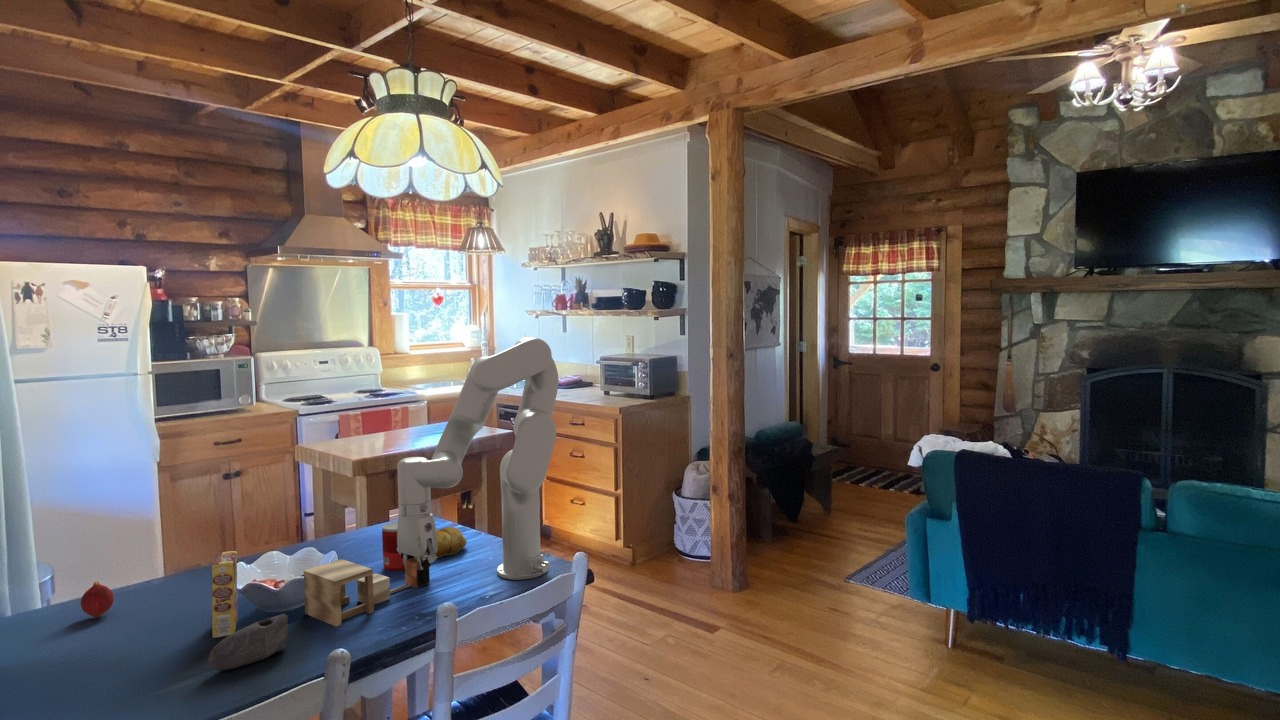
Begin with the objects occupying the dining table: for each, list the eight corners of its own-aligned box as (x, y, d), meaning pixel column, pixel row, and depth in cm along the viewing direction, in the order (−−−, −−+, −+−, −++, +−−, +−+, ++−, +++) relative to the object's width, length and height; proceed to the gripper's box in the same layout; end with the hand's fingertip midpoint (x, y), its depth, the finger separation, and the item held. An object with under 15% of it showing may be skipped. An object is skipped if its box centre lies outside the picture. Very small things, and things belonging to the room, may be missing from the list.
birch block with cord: (430, 583, 173) (429, 559, 172) (370, 605, 159) (370, 579, 159) (417, 579, 175) (416, 555, 175) (357, 601, 162) (357, 575, 162)
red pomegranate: (120, 614, 156) (118, 579, 156) (91, 624, 151) (89, 588, 150) (105, 610, 158) (103, 575, 158) (75, 620, 153) (73, 584, 153)
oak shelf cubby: (373, 612, 156) (372, 569, 155) (336, 626, 148) (334, 581, 148) (342, 600, 163) (341, 559, 162) (305, 613, 155) (303, 570, 155)
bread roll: (460, 544, 203) (459, 517, 203) (475, 553, 196) (474, 524, 195) (416, 554, 195) (415, 525, 195) (430, 563, 188) (429, 533, 187)
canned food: (409, 571, 181) (408, 529, 181) (378, 571, 181) (377, 529, 181) (419, 561, 189) (418, 521, 188) (389, 561, 189) (388, 521, 188)
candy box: (236, 635, 145) (233, 562, 144) (212, 639, 143) (209, 565, 142) (239, 618, 153) (237, 549, 152) (216, 622, 151) (213, 552, 150)
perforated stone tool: (214, 681, 126) (212, 643, 126) (203, 672, 130) (201, 635, 129) (298, 650, 138) (297, 615, 138) (286, 643, 141) (285, 609, 141)
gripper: (450, 509, 170) (452, 584, 171) (406, 500, 179) (408, 571, 180) (424, 517, 163) (426, 594, 164) (380, 507, 173) (383, 580, 174)
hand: (417, 581), depth 172 cm, fingers closed on birch block with cord, 4 cm apart
